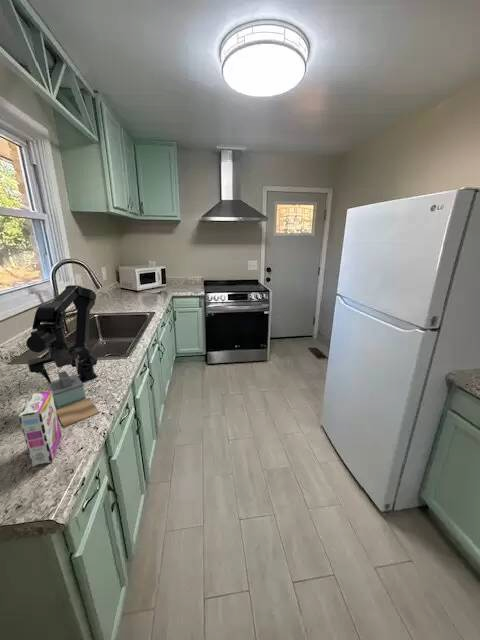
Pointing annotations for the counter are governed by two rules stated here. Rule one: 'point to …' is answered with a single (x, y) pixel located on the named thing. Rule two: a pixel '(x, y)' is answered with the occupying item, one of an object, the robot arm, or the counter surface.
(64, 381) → the lid
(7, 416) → the counter surface
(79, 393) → the storage box
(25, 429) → the candy bar box
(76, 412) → the walnut board
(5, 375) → the counter surface
